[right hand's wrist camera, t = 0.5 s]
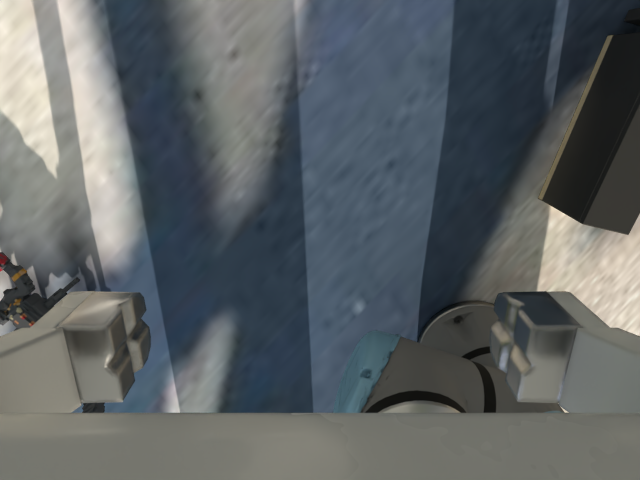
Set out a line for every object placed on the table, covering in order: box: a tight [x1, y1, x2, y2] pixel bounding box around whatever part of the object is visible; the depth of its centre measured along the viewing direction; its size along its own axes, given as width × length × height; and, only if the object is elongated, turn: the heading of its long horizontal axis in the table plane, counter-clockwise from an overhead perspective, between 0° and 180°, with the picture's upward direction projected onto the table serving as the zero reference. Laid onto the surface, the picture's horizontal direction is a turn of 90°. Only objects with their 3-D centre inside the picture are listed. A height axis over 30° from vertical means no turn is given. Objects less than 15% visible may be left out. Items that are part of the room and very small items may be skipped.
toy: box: [0, 252, 105, 413], centre depth 56 cm, size 13×27×18 cm, turn 38°
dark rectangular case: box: [538, 32, 640, 235], centre depth 50 cm, size 20×6×10 cm, turn 167°
